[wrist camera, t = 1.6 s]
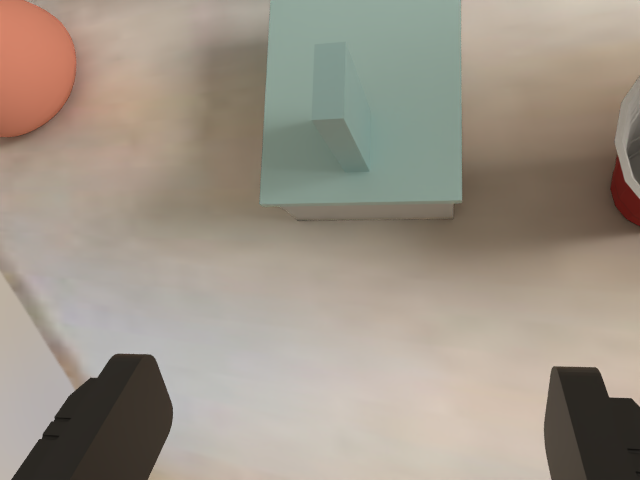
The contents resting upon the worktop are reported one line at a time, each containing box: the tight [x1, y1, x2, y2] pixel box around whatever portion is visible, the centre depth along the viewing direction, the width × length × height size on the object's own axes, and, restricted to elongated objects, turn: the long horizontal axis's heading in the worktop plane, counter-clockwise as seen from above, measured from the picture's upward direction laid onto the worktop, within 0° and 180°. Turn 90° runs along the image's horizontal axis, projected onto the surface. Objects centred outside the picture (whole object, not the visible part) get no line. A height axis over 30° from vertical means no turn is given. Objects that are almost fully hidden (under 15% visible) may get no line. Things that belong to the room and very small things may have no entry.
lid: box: [259, 0, 462, 207], centre depth 34 cm, size 17×13×11 cm
